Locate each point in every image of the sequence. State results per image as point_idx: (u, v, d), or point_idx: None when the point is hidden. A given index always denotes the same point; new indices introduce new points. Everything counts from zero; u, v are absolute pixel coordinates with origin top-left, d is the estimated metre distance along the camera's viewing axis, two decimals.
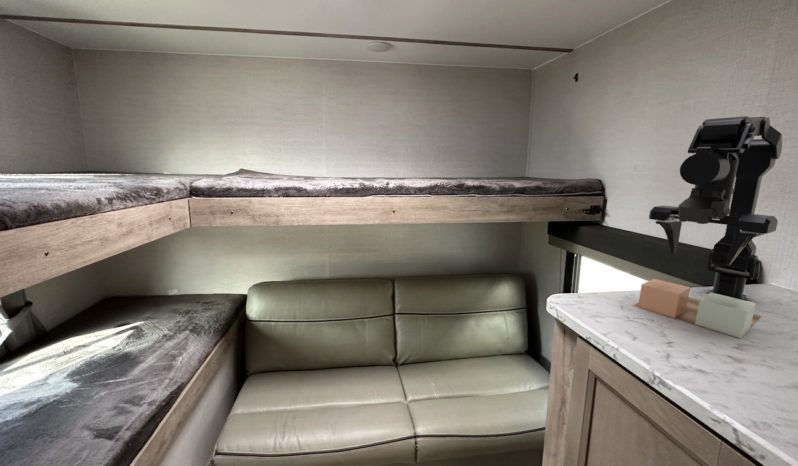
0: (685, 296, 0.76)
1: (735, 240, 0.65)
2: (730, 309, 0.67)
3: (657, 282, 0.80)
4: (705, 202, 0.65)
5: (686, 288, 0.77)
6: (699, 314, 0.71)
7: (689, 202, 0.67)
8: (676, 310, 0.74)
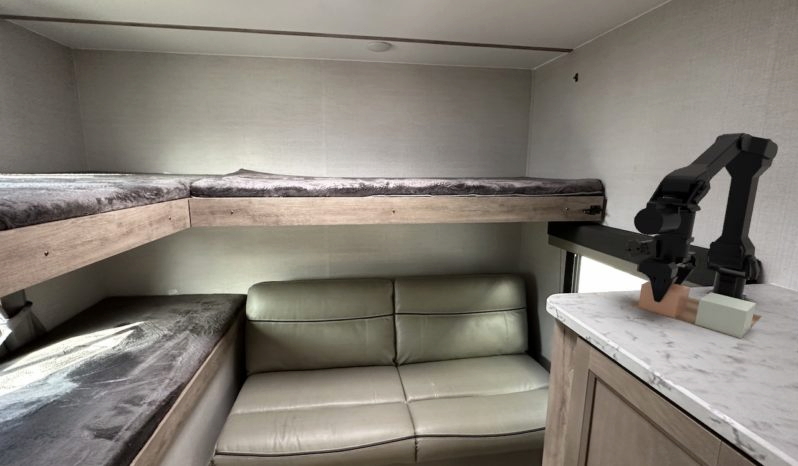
0: (685, 296, 0.76)
1: None
2: (730, 309, 0.67)
3: None
4: (641, 242, 0.80)
5: (686, 288, 0.77)
6: (699, 314, 0.71)
7: (642, 241, 0.82)
8: (676, 310, 0.74)
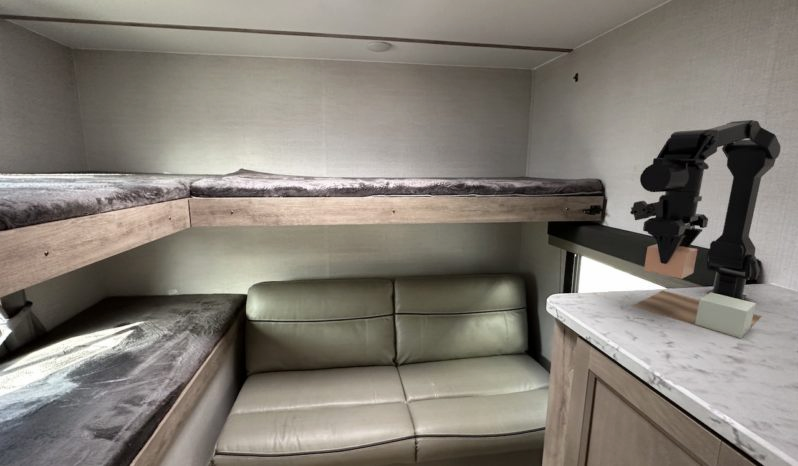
0: (692, 257, 0.74)
1: None
2: (730, 309, 0.67)
3: None
4: None
5: (693, 249, 0.75)
6: (699, 314, 0.71)
7: None
8: (683, 271, 0.72)
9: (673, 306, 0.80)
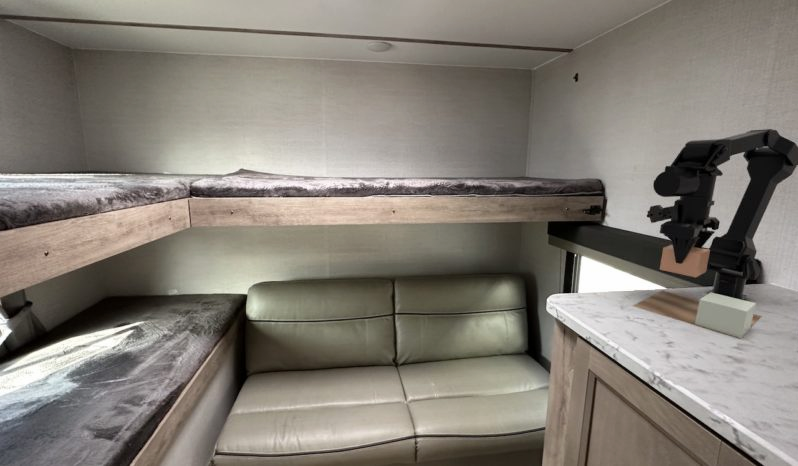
0: (705, 257, 0.80)
1: None
2: (730, 309, 0.67)
3: None
4: None
5: (706, 250, 0.80)
6: (699, 314, 0.71)
7: None
8: (697, 270, 0.78)
9: (673, 306, 0.80)
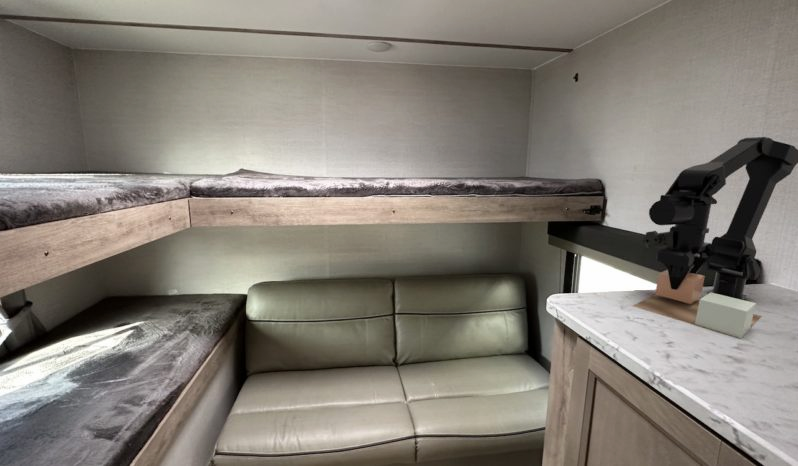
0: (700, 284, 0.81)
1: None
2: (730, 309, 0.67)
3: None
4: (658, 233, 0.85)
5: (701, 276, 0.82)
6: (699, 314, 0.71)
7: (659, 233, 0.87)
8: (692, 296, 0.79)
9: (673, 306, 0.80)
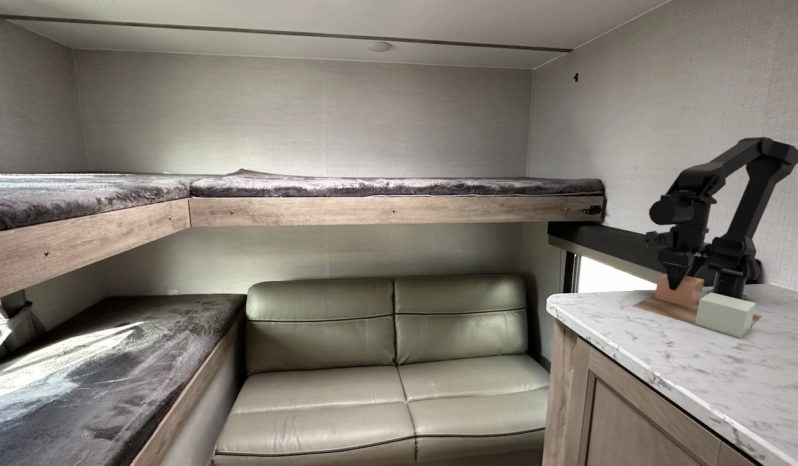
0: (699, 287, 0.82)
1: None
2: (730, 309, 0.67)
3: None
4: (658, 233, 0.85)
5: (700, 280, 0.82)
6: (699, 314, 0.71)
7: (659, 233, 0.87)
8: (691, 300, 0.80)
9: (673, 306, 0.80)
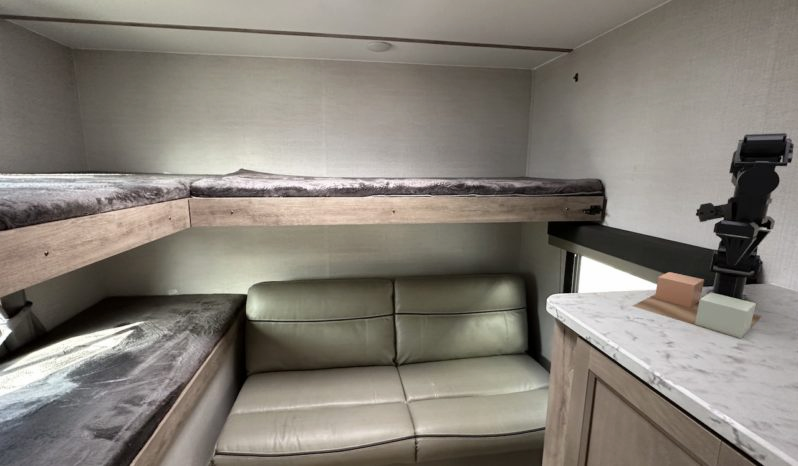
0: (699, 287, 0.82)
1: None
2: (730, 309, 0.67)
3: (672, 275, 0.86)
4: None
5: (700, 280, 0.82)
6: (699, 314, 0.71)
7: None
8: (691, 300, 0.80)
9: (673, 306, 0.80)
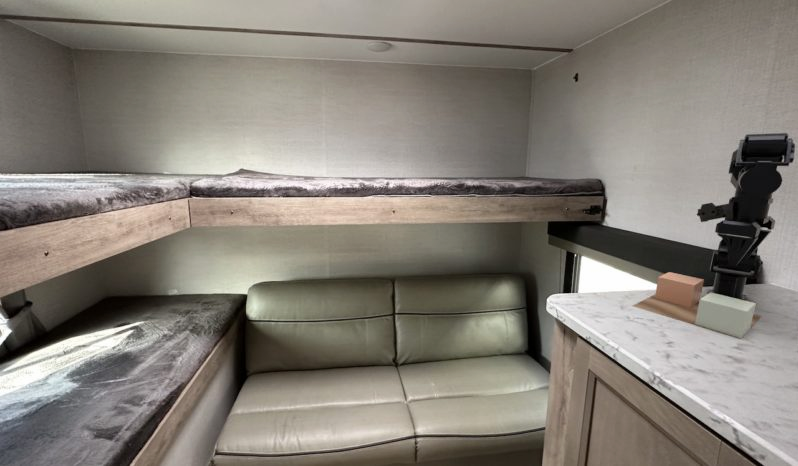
0: (699, 287, 0.82)
1: None
2: (730, 309, 0.67)
3: (672, 275, 0.86)
4: None
5: (700, 280, 0.82)
6: (699, 314, 0.71)
7: None
8: (691, 300, 0.80)
9: (673, 306, 0.80)
